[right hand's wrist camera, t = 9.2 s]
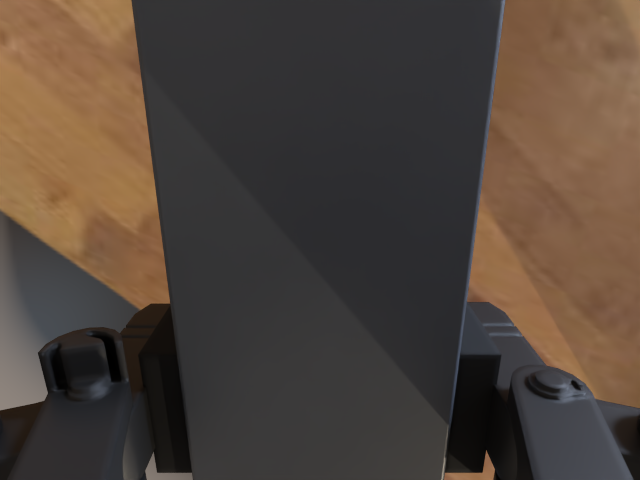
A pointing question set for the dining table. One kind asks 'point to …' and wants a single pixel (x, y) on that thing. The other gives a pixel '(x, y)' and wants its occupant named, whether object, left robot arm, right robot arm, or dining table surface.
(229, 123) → the beam
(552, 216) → the dining table surface
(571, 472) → the right robot arm
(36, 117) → the dining table surface
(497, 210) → the dining table surface
